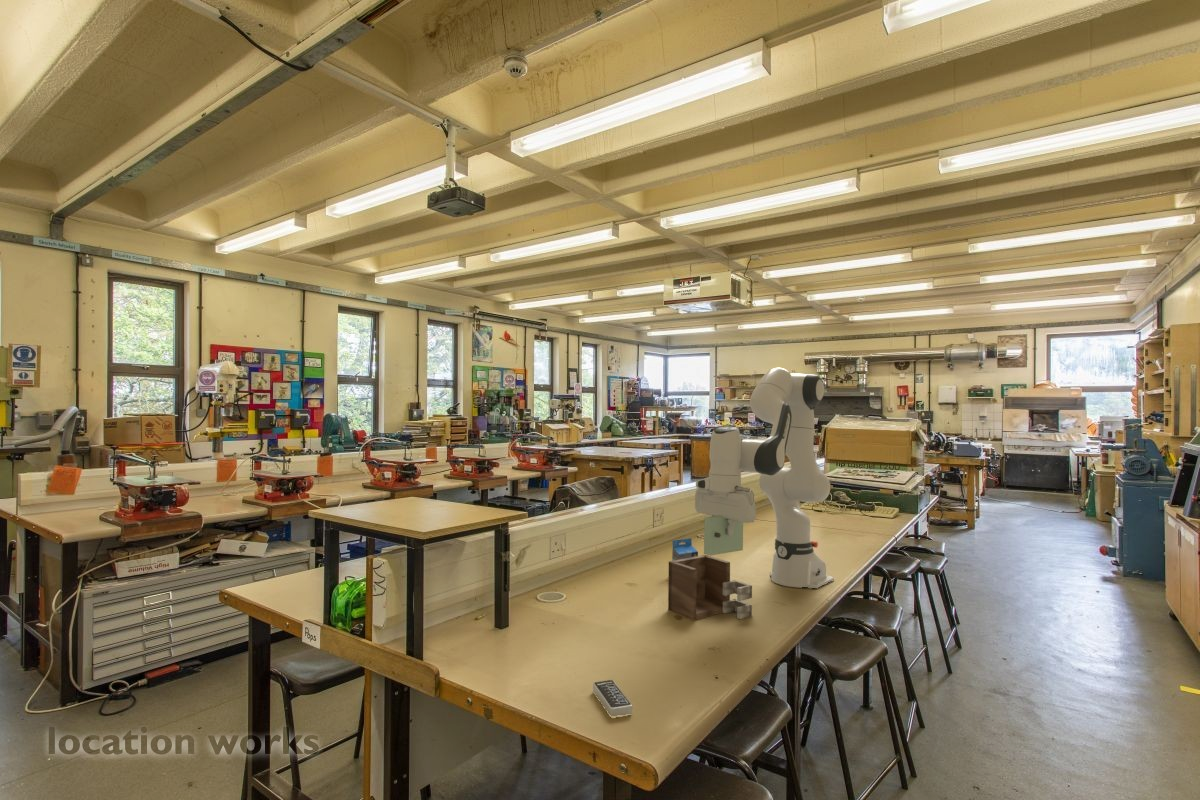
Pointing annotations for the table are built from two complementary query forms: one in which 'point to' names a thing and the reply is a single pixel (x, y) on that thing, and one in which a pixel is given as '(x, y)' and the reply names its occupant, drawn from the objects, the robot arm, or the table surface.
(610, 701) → the multiport hub
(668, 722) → the table surface
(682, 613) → the cabinet
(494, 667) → the table surface
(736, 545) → the door
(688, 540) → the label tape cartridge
